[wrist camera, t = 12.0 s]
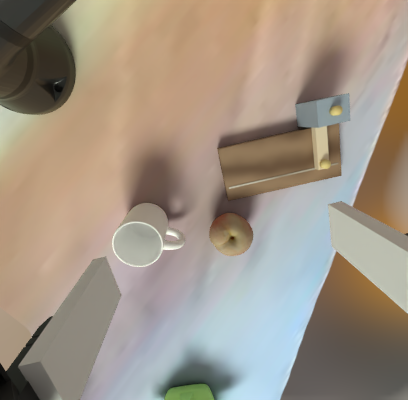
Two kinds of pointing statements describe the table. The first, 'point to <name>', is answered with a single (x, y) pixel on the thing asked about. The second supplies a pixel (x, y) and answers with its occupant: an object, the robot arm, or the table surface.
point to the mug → (144, 236)
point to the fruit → (231, 234)
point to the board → (276, 162)
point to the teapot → (190, 393)
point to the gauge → (322, 123)
